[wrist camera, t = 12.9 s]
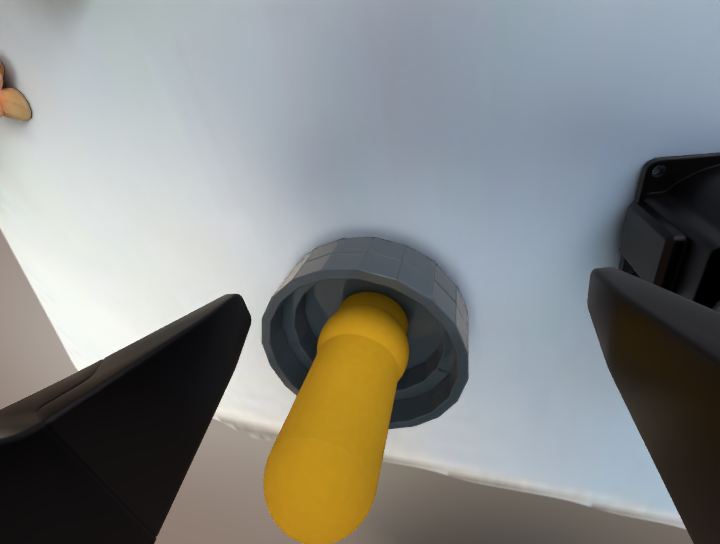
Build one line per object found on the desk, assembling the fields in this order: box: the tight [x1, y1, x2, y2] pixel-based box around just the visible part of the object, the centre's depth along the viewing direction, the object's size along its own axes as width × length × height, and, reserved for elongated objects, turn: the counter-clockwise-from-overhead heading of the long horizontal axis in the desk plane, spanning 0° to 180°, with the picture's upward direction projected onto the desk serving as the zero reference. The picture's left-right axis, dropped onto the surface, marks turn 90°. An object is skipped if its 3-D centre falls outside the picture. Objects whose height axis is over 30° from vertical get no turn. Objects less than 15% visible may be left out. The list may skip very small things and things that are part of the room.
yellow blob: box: [264, 292, 409, 544], centre depth 19 cm, size 6×6×14 cm
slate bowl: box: [262, 237, 469, 429], centre depth 24 cm, size 13×13×4 cm
